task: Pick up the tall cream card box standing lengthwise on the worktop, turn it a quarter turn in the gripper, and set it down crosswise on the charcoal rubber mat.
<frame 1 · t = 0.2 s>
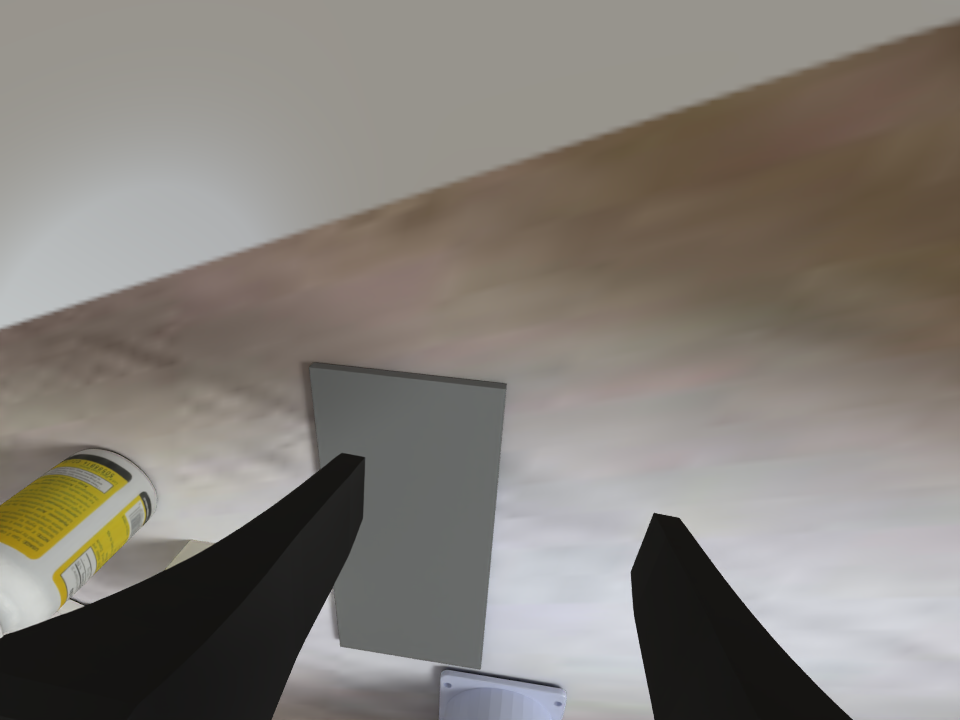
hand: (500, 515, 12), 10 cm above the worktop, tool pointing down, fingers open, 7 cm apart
supplement bottle: (118, 482, 28), on the worktop
card box: (251, 571, 30), on the worktop
rubber mat: (410, 534, 27), on the worktop
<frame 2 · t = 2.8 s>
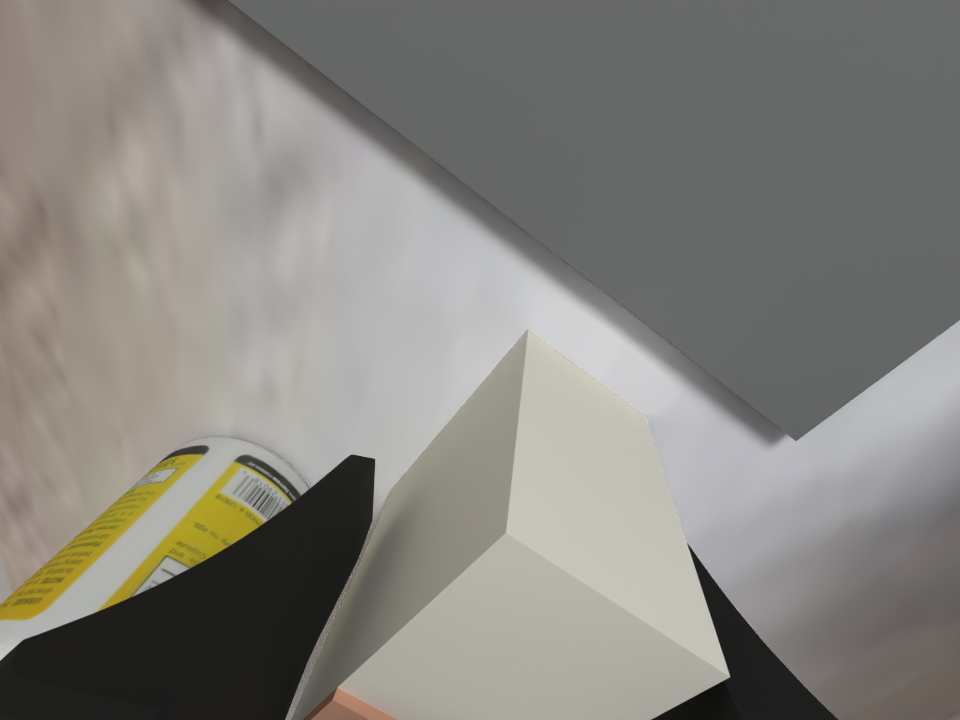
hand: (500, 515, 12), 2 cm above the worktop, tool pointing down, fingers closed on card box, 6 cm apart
supplement bottle: (249, 494, 17), on the worktop
card box: (508, 455, 14), on the worktop, touching gripper
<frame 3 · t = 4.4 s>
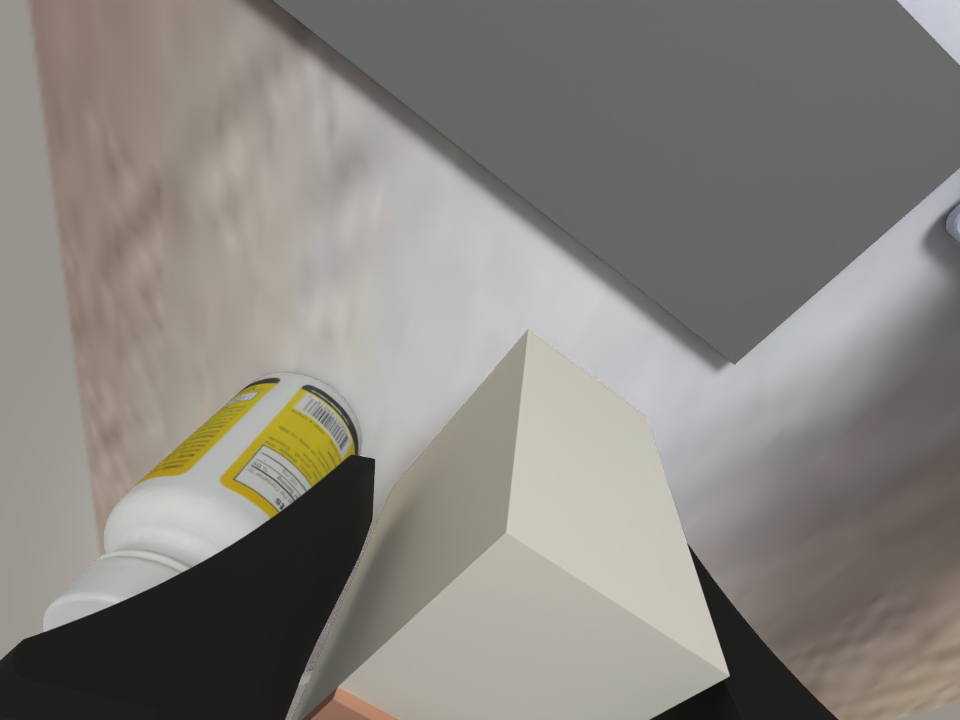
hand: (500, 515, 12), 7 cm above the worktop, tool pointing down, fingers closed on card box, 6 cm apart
supplement bottle: (305, 424, 21), on the worktop
card box: (508, 455, 14), point 4 cm above the worktop, touching gripper
rubber mat: (594, 31, 13), on the worktop
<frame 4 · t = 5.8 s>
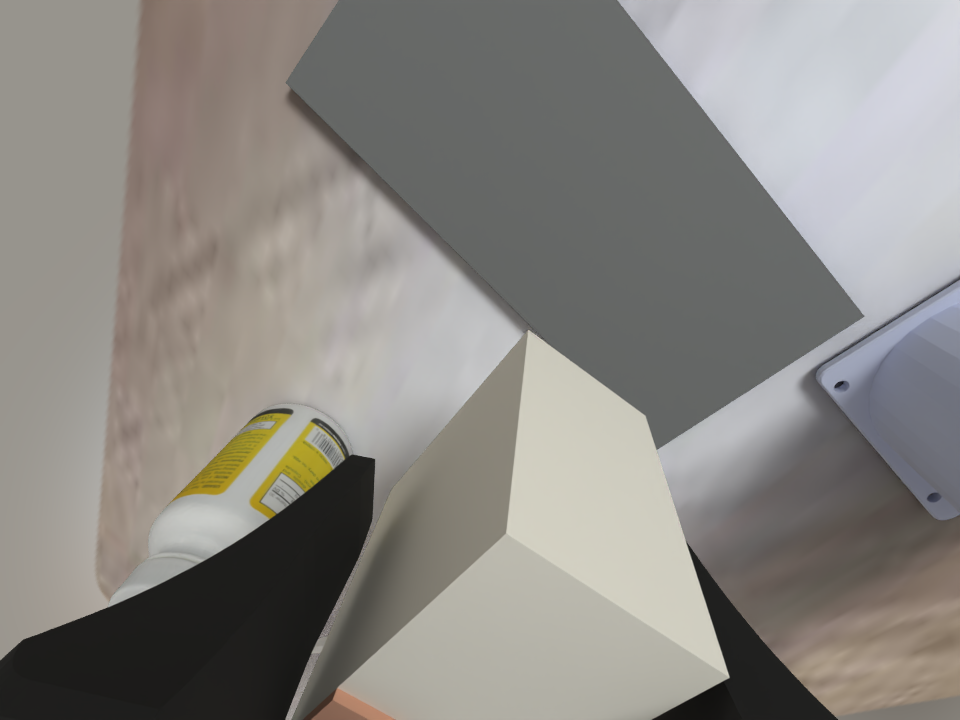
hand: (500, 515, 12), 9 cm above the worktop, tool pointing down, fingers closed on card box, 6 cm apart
supplement bottle: (305, 444, 24), on the worktop
card box: (508, 455, 14), point 7 cm above the worktop, touching gripper
rubber mat: (581, 200, 18), on the worktop
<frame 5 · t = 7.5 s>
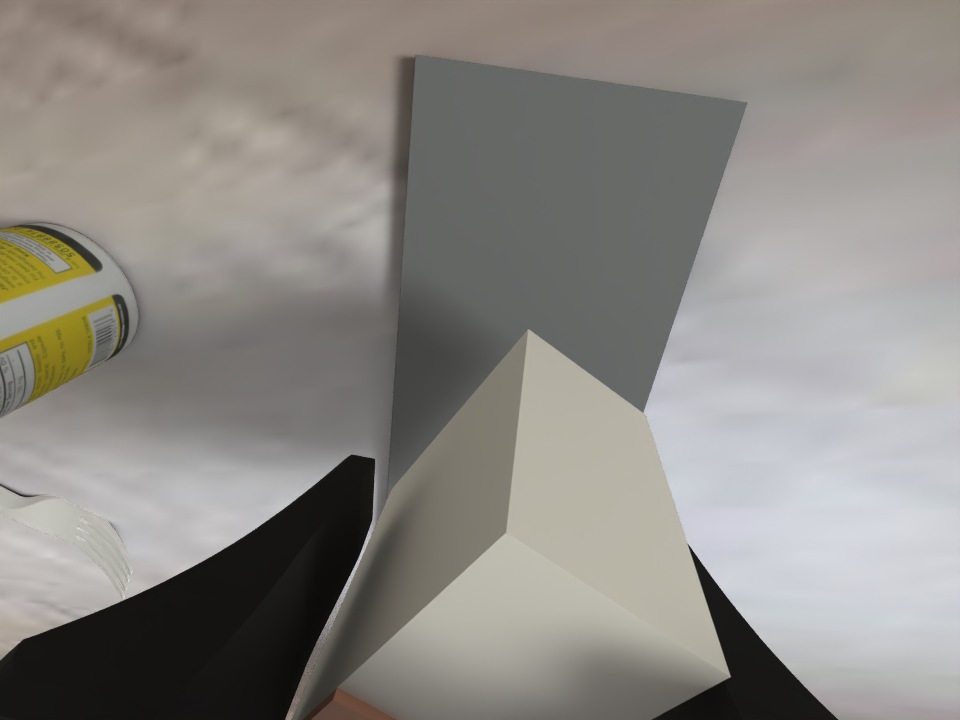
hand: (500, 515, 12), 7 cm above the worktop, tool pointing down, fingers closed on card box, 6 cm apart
supplement bottle: (81, 291, 19), on the worktop
card box: (508, 455, 14), point 4 cm above the worktop, touching gripper
rubber mat: (517, 388, 18), on the worktop
when the fingers open (4 cm above the worktop, at t = 8.8 s): card box drops 1 cm, resting on rubber mat.
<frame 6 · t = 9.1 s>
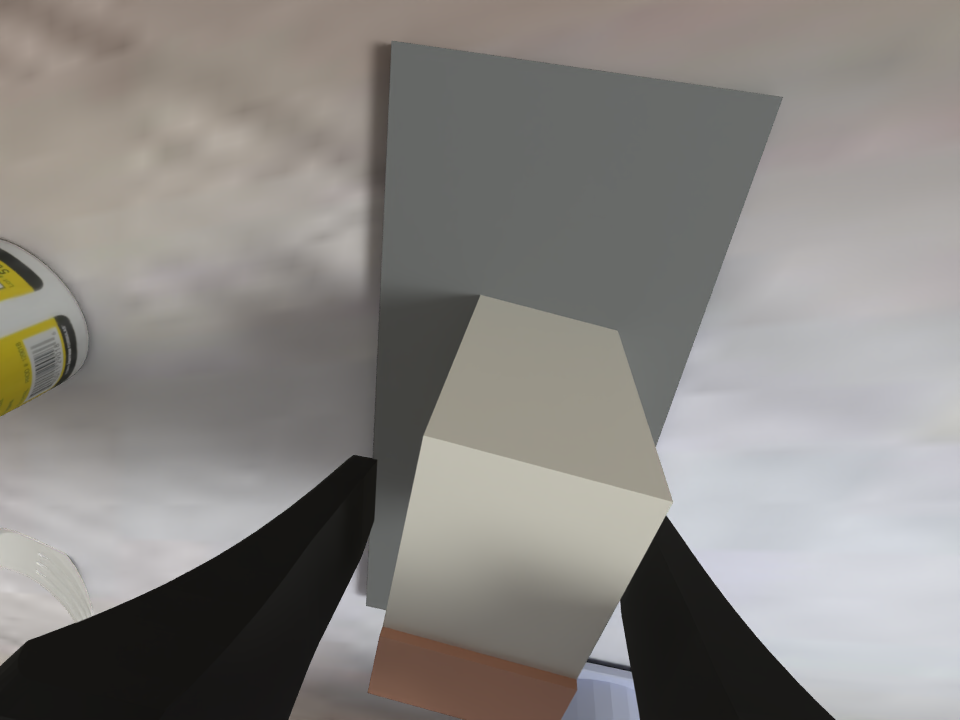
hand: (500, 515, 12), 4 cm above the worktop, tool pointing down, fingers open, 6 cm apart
supplement bottle: (26, 309, 17), on the worktop
card box: (517, 413, 15), resting on rubber mat
rubber mat: (512, 419, 16), on the worktop
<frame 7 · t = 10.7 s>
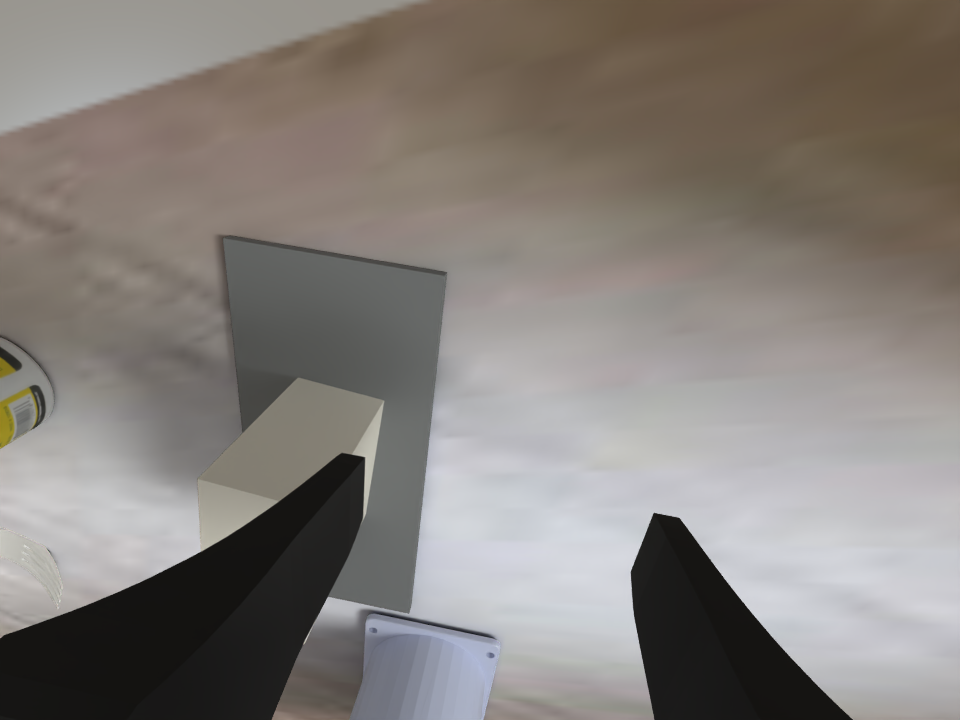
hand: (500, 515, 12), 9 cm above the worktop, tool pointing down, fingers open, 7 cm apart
supplement bottle: (11, 377, 25), on the worktop
card box: (334, 450, 23), resting on rubber mat
rubber mat: (336, 453, 24), on the worktop
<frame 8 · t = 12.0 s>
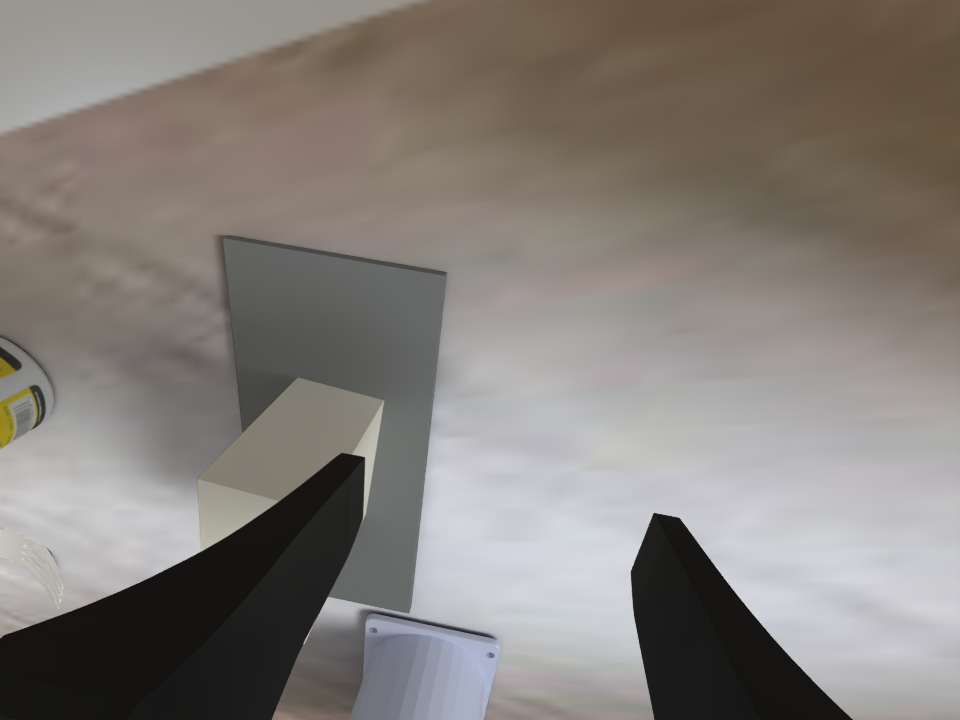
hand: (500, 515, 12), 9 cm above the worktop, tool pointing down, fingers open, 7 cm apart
supplement bottle: (11, 377, 25), on the worktop
card box: (334, 450, 23), resting on rubber mat
rubber mat: (336, 453, 24), on the worktop
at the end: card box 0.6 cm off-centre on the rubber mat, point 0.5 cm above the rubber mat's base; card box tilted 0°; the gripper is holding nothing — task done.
